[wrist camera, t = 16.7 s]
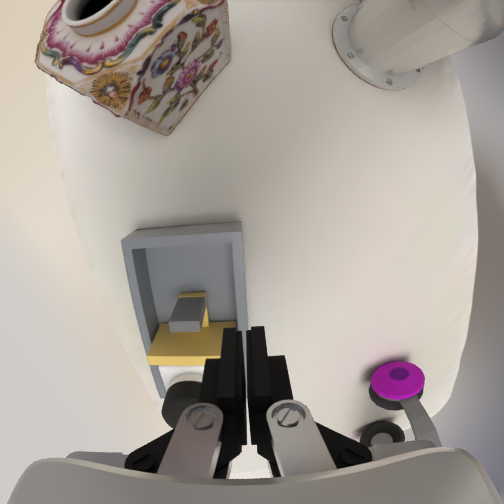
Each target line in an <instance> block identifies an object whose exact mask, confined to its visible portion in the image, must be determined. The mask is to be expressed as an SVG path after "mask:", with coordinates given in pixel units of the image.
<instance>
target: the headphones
mask: <svg viewBox="0 0 504 504" xmlns="http://www.w3.org/2000/svg"><path fill="white" fill-rule="evenodd" d="M424 381H425V377H424V374H423V372H422V370H421V369H420V368H419V367H417V366H416V365H414V364H411V363H408V362H400V361H396V362H390V363H386V364H384V365H382V366H380V367H379V368H378V369H377V370H376V371H375V372H374V373H373V375H372V378H371V381H370V382H371V384H370V387H369V394H370V398H371V400H372V401H373V402H374V403H375V404H376V405H377V406H380V407H382V408H384V409H386V410H402V409H404V411H405V413H406V415H407V417H408V419H409V421H410V424H411V427H412V430H413V433H414V435H415V441H416V440H428V441H431V442H432V443H434V444H435V445H436V447H442V446H441V442H440V440H439V436H438V434H437V431H436V428H435V426H434V425H433V423H432V421H431V419H430V417H429V415H428V414H427V412H426V410H425V409H424V407H423V406H422V404H421V403H420V401H419V399H420V398H421V396H422V394H423V388H424ZM404 441H405V436H404V432H403V430H402V429H401V428H400V427H399V426H398V425H396V424H394V423H393V422H387V421H382V422H376V423H374V424H372V425H370V426H368V427H367V428H366V429H365V430H364V431H363V433H362V435H361V438H360V443H362V444H363V445H365V446H367V447H374V445H375V444H387V443H398V442H404Z"/></svg>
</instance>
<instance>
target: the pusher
mask: <svg viewBox="0 0 504 504" xmlns="http://www.w3.org/2000/svg"><path fill="white" fill-rule="evenodd" d="M234 327H236V321H227V322H210V321H209V313H208V305H207V297H206V292H193V293H180V295H179V298H178V300H177V303H176V305H175V307H174V310H173V312H172V315H171V317H170V319H169V323H161V324H160V327H159V329H158V331H157V333H156V335H155V338H154V340H153V342H152V344H151V347H150V349H149V351H148V354H147V359H148V363H149V365H174V366H199V365H205V360H206V358H220V356H221V346H222V337H223V328H234Z"/></svg>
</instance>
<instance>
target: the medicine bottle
mask: <svg viewBox="0 0 504 504" xmlns="http://www.w3.org/2000/svg"><path fill="white" fill-rule="evenodd" d="M158 368H159V371H160V375H161V378H162V381H163V384H164V386H165V389H166V396H165V400H164V403H163V407H162V416H163V418H164V420H165V421H166V423H167V424H168V425H169V426H170V427H172V428H173V429H174V428H176V426H177V423H178V421H179V419H180V416H181V414H182V413H183V411H184V410H185V409H186V408H187V407H189V406H191V405H193V404H197V403H198V402H199V396H200V390H201V383H202V377H203V371H204V365H199V366H174V365H158Z"/></svg>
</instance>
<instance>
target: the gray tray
mask: <svg viewBox="0 0 504 504" xmlns="http://www.w3.org/2000/svg"><path fill="white" fill-rule="evenodd" d="M121 243H122V249H123V255H124V261H125V266H126V272H127V277H128V282H129V287H130V292H131V296H132V301H133V305H134V309H135V314H136V318H137V322H138V326H139V330H140V333H141V337H142V341H143V345H144V348H145V352H146V355H147V354H148V351H149V349H150V347H151V344H152V342H153V340H154V338H155V335H156V333H157V331H158V329H159V327H160V324H161V323H169V319H170V317H171V315H172V312H173V310H174V307H175V305H176V303H177V300H178V298H179V295H180V293H193V292H206V297H207V305H208V313H209V321H210V322H227V321H236V327H237V331H242V337H243V350H244V363H245V376H246V398H247V357H246V330H248V320H247V305H246V289H245V274H244V257H243V241H242V224H241V222H226V223H211V224H197V225H183V226H171V227H158V228H147V229H137V230H135V231H134V232H132V233H131V234H129V235H128V236H126V237H125V238H123V239H122V240H121ZM150 368H151V372H152V375H153V378H154V381H155V384H156V387H157V390H158V393H159V396H160V398H165V396H166V389H165V386H164V384H163V381H162V378H161V375H160V371H159V368H158V365H150Z"/></svg>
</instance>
